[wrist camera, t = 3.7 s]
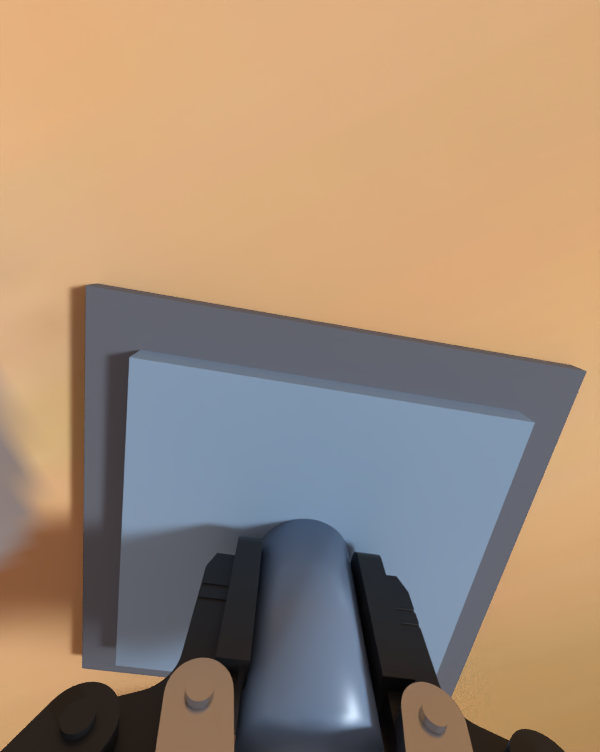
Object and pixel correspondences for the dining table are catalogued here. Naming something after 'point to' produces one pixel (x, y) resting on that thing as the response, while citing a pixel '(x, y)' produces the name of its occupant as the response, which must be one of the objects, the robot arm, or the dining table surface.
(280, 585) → the lid
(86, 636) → the mat
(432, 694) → the robot arm
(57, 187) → the dining table surface
